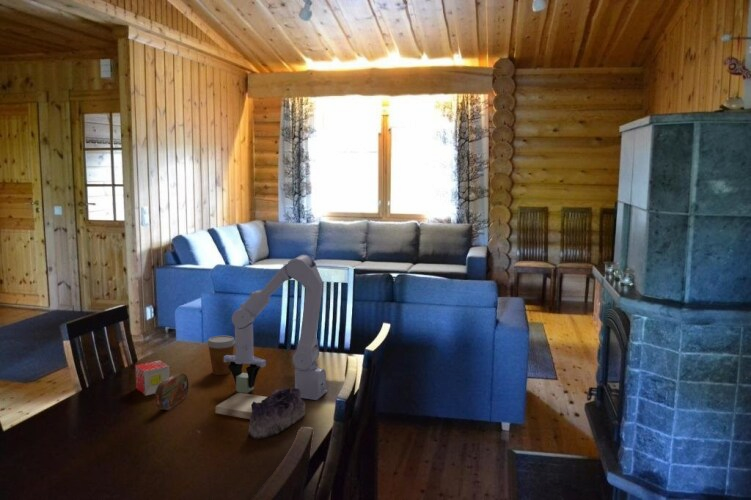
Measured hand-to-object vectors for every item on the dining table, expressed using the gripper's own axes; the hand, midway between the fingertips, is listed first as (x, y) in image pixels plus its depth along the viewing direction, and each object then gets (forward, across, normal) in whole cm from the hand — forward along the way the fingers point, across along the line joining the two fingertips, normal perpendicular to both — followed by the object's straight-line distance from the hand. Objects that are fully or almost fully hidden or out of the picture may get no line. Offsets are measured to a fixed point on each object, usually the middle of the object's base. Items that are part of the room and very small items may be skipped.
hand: (245, 385), depth 190 cm
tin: (+2, -14, -18) cm, 23 cm away
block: (+2, 0, 0) cm, 2 cm away
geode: (+2, +23, -20) cm, 30 cm away
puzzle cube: (+2, -28, -10) cm, 30 cm away
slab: (+2, +8, -13) cm, 15 cm away
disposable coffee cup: (+2, -17, +12) cm, 21 cm away
